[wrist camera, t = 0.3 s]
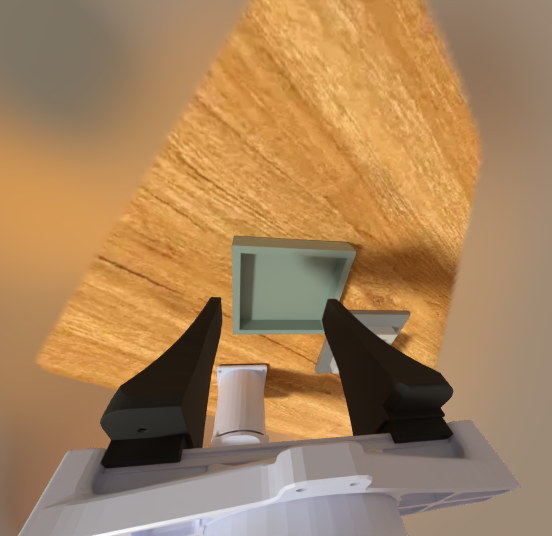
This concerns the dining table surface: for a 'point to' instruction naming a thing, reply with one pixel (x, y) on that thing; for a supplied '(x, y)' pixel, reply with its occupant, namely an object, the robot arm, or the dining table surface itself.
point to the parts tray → (286, 283)
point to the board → (376, 321)
